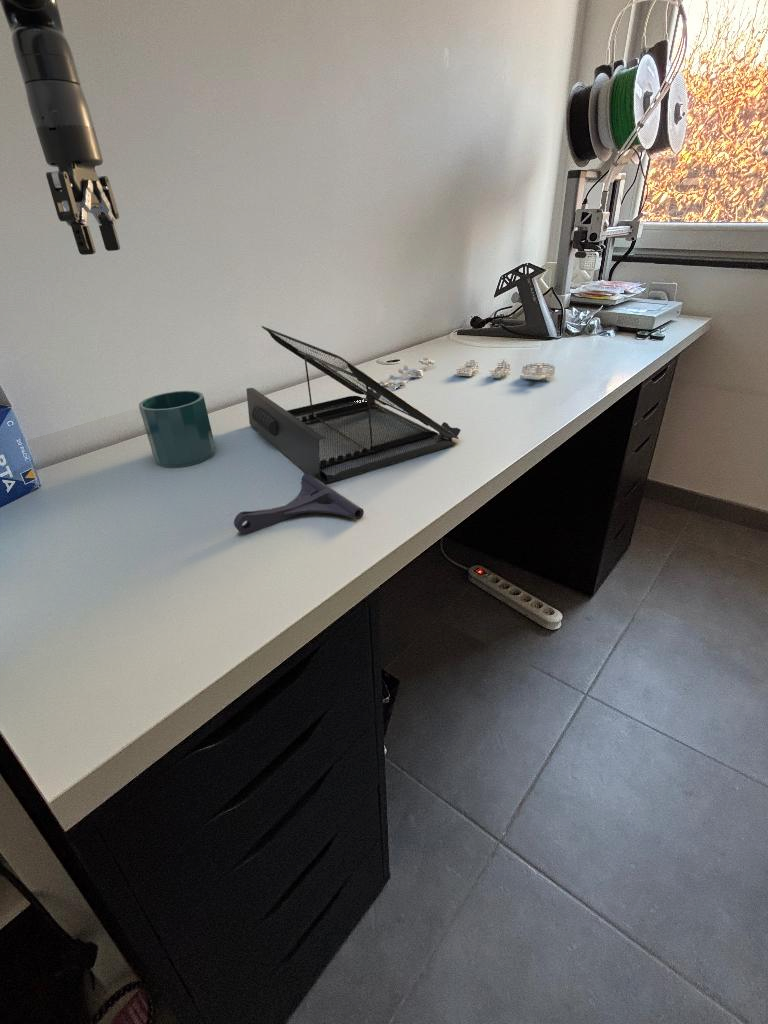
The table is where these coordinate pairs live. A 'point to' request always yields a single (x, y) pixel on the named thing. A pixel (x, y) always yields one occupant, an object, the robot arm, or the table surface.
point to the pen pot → (178, 428)
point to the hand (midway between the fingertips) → (101, 252)
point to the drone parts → (470, 369)
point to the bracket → (300, 506)
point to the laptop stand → (304, 440)
